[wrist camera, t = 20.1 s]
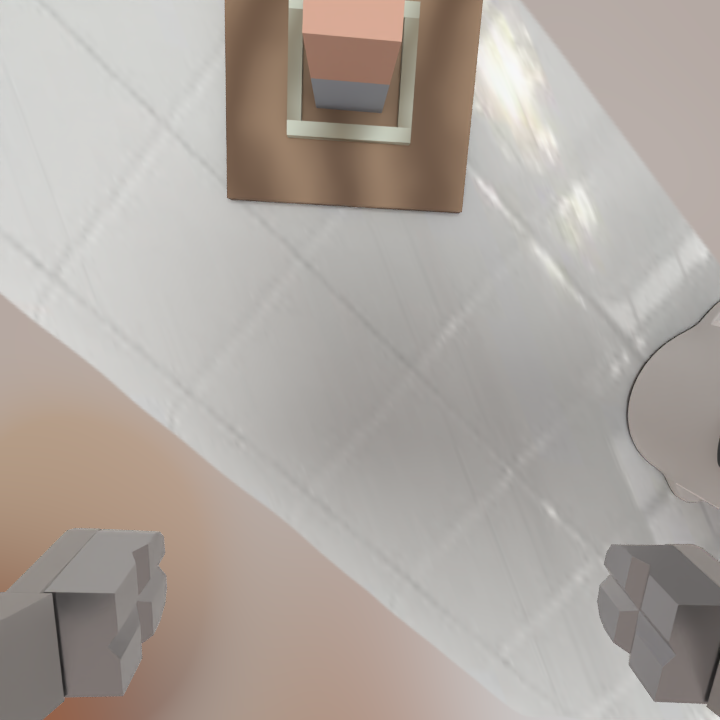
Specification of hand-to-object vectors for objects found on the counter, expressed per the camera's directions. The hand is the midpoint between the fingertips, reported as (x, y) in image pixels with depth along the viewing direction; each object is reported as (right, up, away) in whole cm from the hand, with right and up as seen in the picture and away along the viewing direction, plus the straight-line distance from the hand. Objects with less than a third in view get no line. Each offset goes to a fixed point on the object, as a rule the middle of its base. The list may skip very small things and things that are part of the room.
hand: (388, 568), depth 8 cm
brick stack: (-1, +24, +25) cm, 35 cm away
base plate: (-1, +25, +26) cm, 36 cm away
